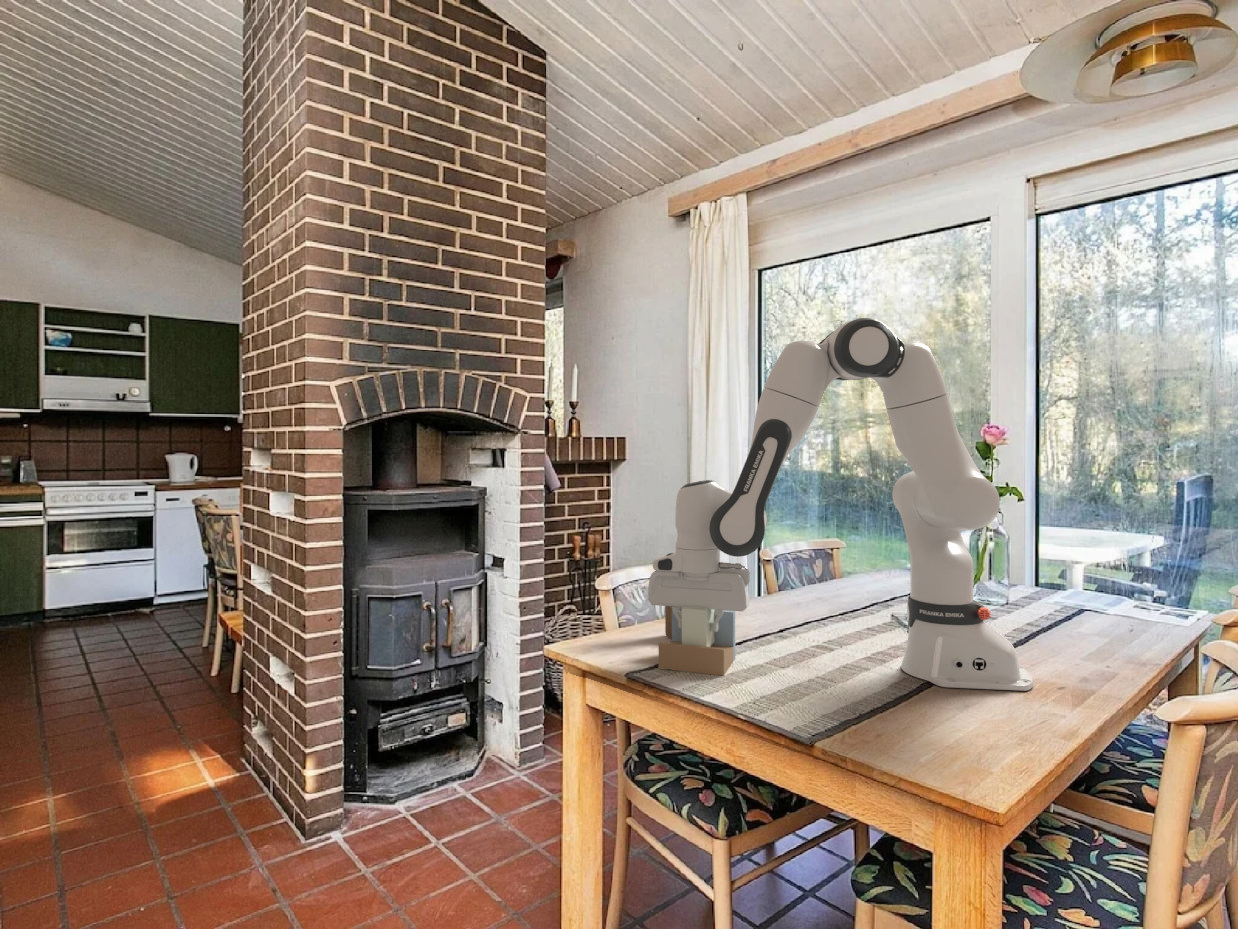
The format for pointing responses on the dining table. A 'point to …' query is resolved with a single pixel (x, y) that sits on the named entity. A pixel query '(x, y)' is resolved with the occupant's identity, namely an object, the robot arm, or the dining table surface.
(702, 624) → the cabinet block
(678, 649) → the board
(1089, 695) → the dining table surface
